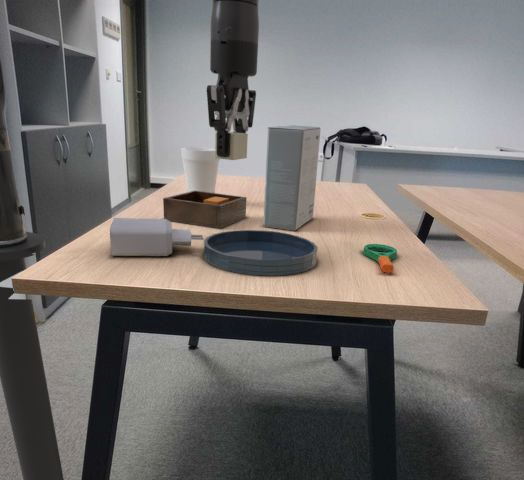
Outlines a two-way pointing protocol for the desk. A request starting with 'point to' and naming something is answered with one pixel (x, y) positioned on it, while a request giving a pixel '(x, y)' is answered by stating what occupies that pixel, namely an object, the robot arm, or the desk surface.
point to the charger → (147, 237)
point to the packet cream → (235, 146)
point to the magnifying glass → (381, 255)
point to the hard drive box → (290, 176)
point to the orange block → (216, 200)
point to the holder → (204, 209)
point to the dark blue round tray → (260, 252)
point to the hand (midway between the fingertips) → (231, 155)
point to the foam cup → (200, 168)
